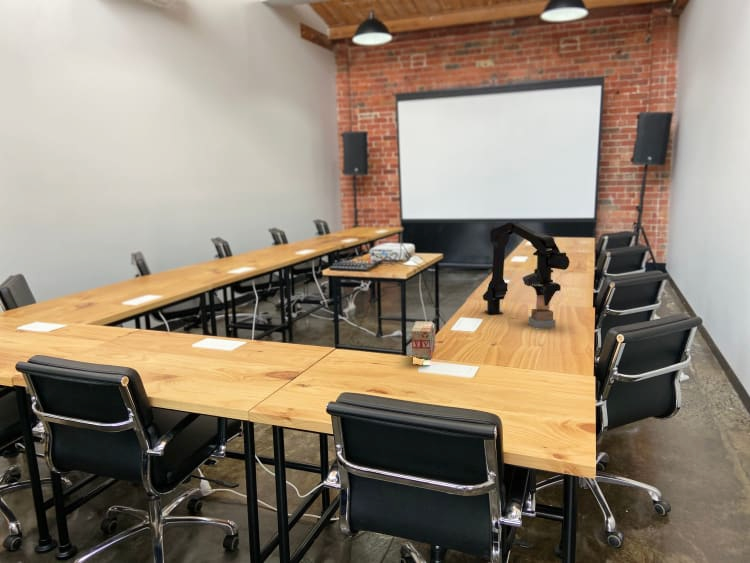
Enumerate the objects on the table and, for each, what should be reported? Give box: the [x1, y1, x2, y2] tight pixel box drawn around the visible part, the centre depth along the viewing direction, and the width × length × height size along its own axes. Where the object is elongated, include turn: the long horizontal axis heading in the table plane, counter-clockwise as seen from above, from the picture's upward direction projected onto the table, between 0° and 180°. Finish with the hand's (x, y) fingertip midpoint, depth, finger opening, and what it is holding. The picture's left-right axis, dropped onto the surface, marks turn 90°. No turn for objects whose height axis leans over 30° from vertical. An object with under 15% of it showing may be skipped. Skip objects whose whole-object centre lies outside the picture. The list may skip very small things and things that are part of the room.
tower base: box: [528, 316, 556, 330], centre depth 227 cm, size 8×8×4 cm
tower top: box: [530, 308, 554, 321], centre depth 226 cm, size 6×6×4 cm
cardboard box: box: [411, 320, 436, 360], centre depth 192 cm, size 21×6×12 cm, turn 170°
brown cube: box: [535, 294, 551, 310], centre depth 225 cm, size 5×5×5 cm
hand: (543, 304), depth 225 cm, fingers open, 6 cm apart
